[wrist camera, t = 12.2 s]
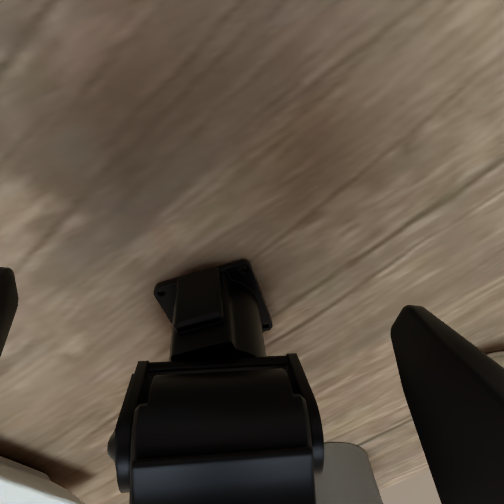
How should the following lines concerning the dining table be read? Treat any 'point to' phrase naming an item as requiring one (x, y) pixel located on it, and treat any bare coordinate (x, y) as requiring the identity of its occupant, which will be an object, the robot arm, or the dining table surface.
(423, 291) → the dining table surface
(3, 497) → the tray
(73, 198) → the dining table surface
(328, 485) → the coffee mug
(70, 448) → the dining table surface
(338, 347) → the dining table surface
